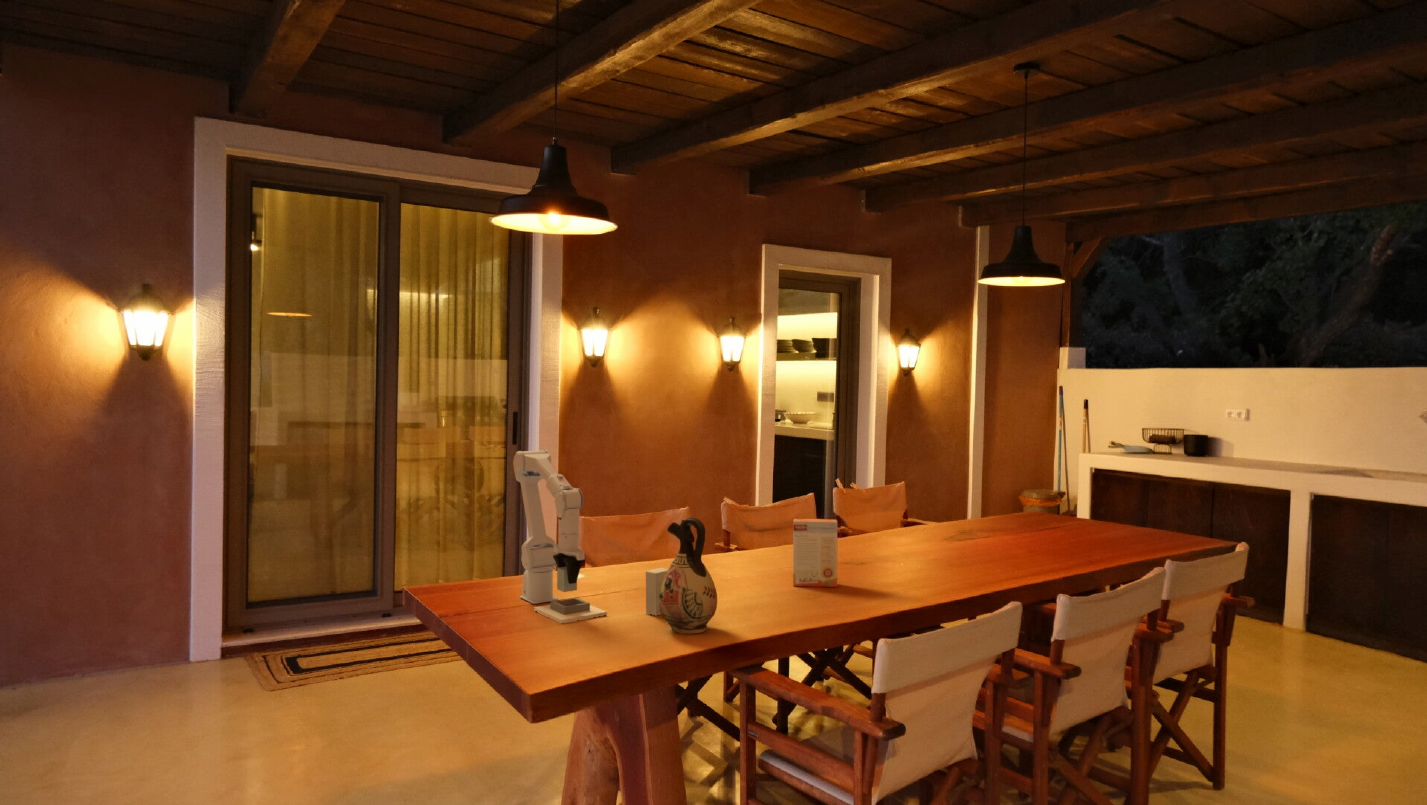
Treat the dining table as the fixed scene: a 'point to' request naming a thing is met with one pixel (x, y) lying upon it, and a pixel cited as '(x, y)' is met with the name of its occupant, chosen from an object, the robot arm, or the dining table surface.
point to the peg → (564, 581)
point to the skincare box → (654, 590)
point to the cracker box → (815, 552)
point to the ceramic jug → (688, 583)
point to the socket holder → (569, 610)
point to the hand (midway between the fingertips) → (568, 581)
